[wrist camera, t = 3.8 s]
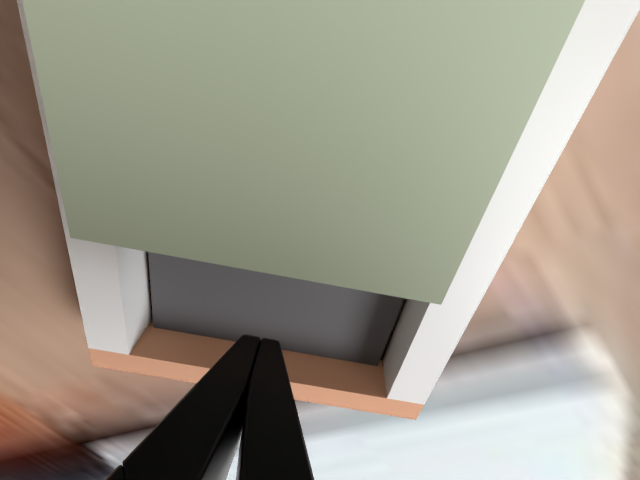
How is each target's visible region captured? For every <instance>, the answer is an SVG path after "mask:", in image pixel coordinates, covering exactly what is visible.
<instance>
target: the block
mask: <svg viewBox="0 0 640 480" xmlns="http://www.w3.org/2000/svg"><path fill="white" fill-rule="evenodd" d="M22 1H23V6H24V11H25V16H26V21H27V26H28V31H29V36H30V41H31V46H32V51H33V56H34V61H35V66H36V70H37V75H38V80H39V85H40V90H41V95H42V100H43V105H44V110H45V115H46V120H47V125H48V130H49V135H50V140H51V145H52V150H53V155H54V160H55V165H56V170H57V175H58V180H59V185H60V190H61V195H62V200H63V205H64V210H65V215H66V219H67V224H68V229H69V234H70V238H74V239H80V240H85V241H91V242H96V243H102V244H108V245H113V246H119V247H124V248H130V249H135V250H141V251H146V252H152V253H157V254H163V255H168V256H174V257H179V258H185V259H190V260H196V261H201V262H207V263H213V264H218V265H224V266H229V267H235V268H240V269H246V270H251V271H257V272H262V273H268V274H273V275H279V276H284V277H290V278H295V279H301V280H307V281H312V282H318V283H323V284H329V285H334V286H340V287H345V288H351V289H356V290H362V291H367V292H373V293H378V294H384V295H389V296H395V297H400V298H406V299H412V300H417V301H423V302H428V303H434V304H439V305H441V304H442V302H443V300H444V298H445V296H446V294H447V291H448V289H449V287H450V285H451V283H452V281H453V279H454V277H455V275H456V272H457V270H458V268H459V266H460V264H461V262H462V260H463V258H464V255H465V253H466V251H467V249H468V247H469V245H470V243H471V241H472V239H473V236H474V234H475V232H476V230H477V228H478V226H479V224H480V222H481V220H482V217H483V215H484V213H485V211H486V209H487V207H488V205H489V203H490V201H491V198H492V196H493V194H494V192H495V190H496V188H497V186H498V184H499V182H500V179H501V177H502V175H503V173H504V171H505V169H506V167H507V165H508V162H509V160H510V158H511V156H512V154H513V152H514V150H515V148H516V146H517V143H518V141H519V139H520V137H521V135H522V133H523V131H524V129H525V127H526V124H527V122H528V120H529V118H530V116H531V114H532V112H533V110H534V108H535V105H536V103H537V101H538V99H539V97H540V95H541V93H542V91H543V89H544V86H545V84H546V82H547V80H548V78H549V76H550V74H551V72H552V69H553V67H554V65H555V63H556V61H557V59H558V57H559V55H560V53H561V50H562V48H563V46H564V44H565V42H566V40H567V38H568V36H569V34H570V31H571V29H572V27H573V25H574V23H575V21H576V19H577V17H578V15H579V12H580V10H581V8H582V6H583V4H584V2H585V0H22Z"/></svg>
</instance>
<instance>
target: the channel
mask: <svg viewBox="0 0 640 480" xmlns="http://www.w3.org/2000/svg"><path fill="white" fill-rule="evenodd" d="M17 4H18V9H19V14H20V19H21V24H22V29H23V34H24V38H25V43H26V48H27V53H28V58H29V63H30V68H31V72H32V77H33V82H34V87H35V92H36V97H37V101H38V106H39V111H40V116H41V121H42V126H43V131H44V135H45V140H46V145H47V150H48V155H49V160H50V165H51V169H52V174H53V179H54V184H55V189H56V194H57V199H58V203H59V208H60V213H61V218H62V223H63V228H64V233H65V237H66V242H67V247H68V252H69V257H70V262H71V266H72V271H73V276H74V281H75V286H76V291H77V296H78V300H79V305H80V310H81V315H82V320H83V325H84V330H85V334H86V339H87V344H88V348H91V349H97V350H103V351H109V352H115V353H121V354H127V355H129V354H130V352H131V351H132V349H133V347H134V346H135V344H136V343H137V341H138V340H139V338H140V337H141V335H142V334H143V332H144V331H145V329H146V328H147V326H148V325H149V323H150V322H151V306H150V292H149V278H148V264H147V252H146V251H141V250H135V249H130V248H124V247H119V246H113V245H108V244H102V243H96V242H91V241H85V240H80V239H74V238H70V234H69V229H68V224H67V219H66V215H65V210H64V205H63V200H62V195H61V190H60V185H59V180H58V175H57V170H56V165H55V160H54V155H53V150H52V145H51V140H50V135H49V130H48V125H47V120H46V115H45V110H44V105H43V100H42V95H41V90H40V85H39V80H38V75H37V70H36V66H35V61H34V56H33V51H32V46H31V41H30V36H29V31H28V26H27V21H26V16H25V11H24V6H23V1H22V0H17ZM639 9H640V0H585V2H584V4H583V6H582V8H581V10H580V12H579V15H578V17H577V19H576V21H575V23H574V25H573V27H572V29H571V31H570V34H569V36H568V38H567V40H566V42H565V44H564V46H563V48H562V50H561V53H560V55H559V57H558V59H557V61H556V63H555V65H554V67H553V69H552V72H551V74H550V76H549V78H548V80H547V82H546V84H545V86H544V89H543V91H542V93H541V95H540V97H539V99H538V101H537V103H536V105H535V108H534V110H533V112H532V114H531V116H530V118H529V120H528V122H527V124H526V127H525V129H524V131H523V133H522V135H521V137H520V139H519V141H518V143H517V146H516V148H515V150H514V152H513V154H512V156H511V158H510V160H509V162H508V165H507V167H506V169H505V171H504V173H503V175H502V177H501V179H500V182H499V184H498V186H497V188H496V190H495V192H494V194H493V196H492V198H491V201H490V203H489V205H488V207H487V209H486V211H485V213H484V215H483V217H482V220H481V222H480V224H479V226H478V228H477V230H476V232H475V234H474V236H473V239H472V241H471V243H470V245H469V247H468V249H467V251H466V253H465V255H464V258H463V260H462V262H461V264H460V266H459V268H458V270H457V272H456V275H455V277H454V279H453V281H452V283H451V285H450V287H449V289H448V291H447V294H446V296H445V298H444V300H443V302H442V304H441V305H439V304H434V303H428V302H423V301H417V300H412V299H407V300H406V303H405V305H404V308H403V310H402V313H401V315H400V318H399V320H398V323H397V325H396V328H395V330H394V332H393V335H392V337H391V340H390V342H389V345H388V347H387V350H386V352H385V355H384V357H383V360H382V363H383V371H384V379H385V387H386V395H387V399H393V400H399V401H405V402H411V403H417V404H423V405H424V404H425V402H426V400H427V398H428V397H429V395H430V393H431V391H432V389H433V387H434V386H435V384H436V382H437V380H438V378H439V376H440V375H441V373H442V371H443V369H444V367H445V365H446V364H447V362H448V360H449V358H450V356H451V354H452V353H453V351H454V349H455V347H456V345H457V343H458V342H459V340H460V338H461V336H462V334H463V332H464V331H465V329H466V327H467V325H468V323H469V321H470V320H471V318H472V316H473V314H474V312H475V310H476V309H477V307H478V305H479V303H480V301H481V299H482V297H483V296H484V294H485V292H486V290H487V288H488V286H489V285H490V283H491V281H492V279H493V277H494V275H495V274H496V272H497V270H498V268H499V266H500V264H501V263H502V261H503V259H504V257H505V255H506V253H507V252H508V250H509V248H510V246H511V244H512V242H513V241H514V239H515V237H516V235H517V233H518V231H519V230H520V228H521V226H522V224H523V222H524V220H525V219H526V217H527V215H528V213H529V211H530V209H531V208H532V206H533V204H534V202H535V200H536V198H537V197H538V195H539V193H540V191H541V189H542V187H543V186H544V184H545V182H546V180H547V178H548V176H549V175H550V173H551V171H552V169H553V167H554V165H555V164H556V162H557V160H558V158H559V156H560V154H561V153H562V151H563V149H564V147H565V145H566V143H567V142H568V140H569V138H570V136H571V134H572V132H573V131H574V129H575V127H576V125H577V123H578V121H579V120H580V118H581V116H582V114H583V112H584V110H585V109H586V107H587V105H588V103H589V101H590V99H591V98H592V96H593V94H594V92H595V90H596V88H597V87H598V85H599V83H600V81H601V79H602V77H603V76H604V74H605V72H606V70H607V68H608V66H609V64H610V63H611V61H612V59H613V57H614V55H615V53H616V52H617V50H618V48H619V46H620V44H621V42H622V41H623V39H624V37H625V35H626V33H627V31H628V30H629V28H630V26H631V24H632V22H633V20H634V19H635V17H636V15H637V13H638V11H639Z"/></svg>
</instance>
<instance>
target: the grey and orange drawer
mask: <svg viewBox="0 0 640 480" xmlns="http://www.w3.org/2000/svg"><path fill="white" fill-rule="evenodd" d="M148 256H149V271H150V285H151V299H152V314H153V320H151V322H150V323H149V325H148V326H147V328H146V329H145V331H144V332H143V334H142V335H141V337H140V338H139V340H138V341H137V343H136V344H135V346H134V347H133V349H132V351H131V352H130V354H129V355H127V354H121V353H115V352H109V351H103V350H97V349H91V348H88V349H89V354H90V359H91V364H92V366H96V367H102V368H108V369H114V370H120V371H126V372H132V373H138V374H144V375H150V376H156V377H162V378H168V379H174V380H180V381H186V382H192V383H197V382H198V381H199V380H200V379H201V378H202V377H203V376H204V375H205V374H206V373H207V372H208V371H209V370H210V369H211V368H212V366H213V365H214V364H215V363H216V362H217V361H218V360H219V359H220V358H221V357H222V356H223V355H224V354H225V353H226V352H227V351H228V349H229V348H230V347H231V346H232V345H233V344H234V343H235V342H236V341H237V340H238V339H239V338H240V337H241V336H242V335H244V334H247V335H253V336H258V337H260V339H262V338H270V339H275V340H278V341H279V342H280V345H281V349H282V353H283V357H284V361H285V365H286V369H287V373H288V377H289V381H290V385H291V389H292V393H293V397H294V399H295V400H301V401H307V402H313V403H319V404H325V405H331V406H337V407H343V408H349V409H355V410H361V411H367V412H373V413H379V414H385V415H391V416H397V417H403V418H409V419H415V420H416V419H417V417H418V415H419V413H420V411H421V409H422V408H423V406H424V405H423V404H417V403H411V402H405V401H399V400H393V399H387V395H386V387H385V379H384V371H383V363H382V360H380V358H381V356H382V353H383V351H384V348H385V346H386V343H387V341H388V338H389V336H390V333H391V331H392V328H393V326H394V324H395V321H396V319H397V316H398V314H399V311H400V309H401V306H402V304H403V301H404V299H405V298H400V297H395V296H389V295H384V294H378V293H373V292H367V291H362V290H356V289H351V288H345V287H340V286H334V285H329V284H323V283H318V282H312V281H307V280H301V279H295V278H290V277H284V276H279V275H273V274H268V273H262V272H257V271H251V270H246V269H240V268H235V267H229V266H224V265H218V264H213V263H207V262H201V261H196V260H190V259H185V258H179V257H174V256H168V255H163V254H157V253H152V252H148Z"/></svg>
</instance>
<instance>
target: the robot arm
mask: <svg viewBox="0 0 640 480" xmlns="http://www.w3.org/2000/svg"><path fill="white" fill-rule="evenodd" d="M241 432H242V434H241ZM240 436H241V442H240V449H239V458H238V466H237V475H236V480H314V477H313V473H312V469H311V465H310V461H309V457H308V453H307V449H306V445H305V441H304V437H303V433H302V429H301V425H300V421H299V417H298V413H297V409H296V405H295V401H294V397H293V393H292V389H291V385H290V381H289V377H288V373H287V369H286V365H285V361H284V357H283V353H282V349H281V345H280V342H279V341H278V340H275V339H270V338H262V339H260V337H258V336H253V335H247V334H244V335H242V336H241V337H240V338H239V339H238V340H237V341H236V342H235V343H234V344H233V345H232V346H231V347H230V348H229V349H228V351H227V352H226V353H225V354H224V355H223V356H222V357H221V358H220V359H219V360H218V361H217V362H216V363H215V364H214V365H213V366H212V368H211V369H210V370H209V371H208V372H207V373H206V374H205V375H204V376H203V377H202V378H201V379H200V380H199V381H198V382H197V383H196V384H195V386H194V387H193V388H192V389H191V390H190V391H189V392H188V393H187V394H186V395H185V396H184V397H183V398H182V399H181V400H180V401H179V403H178V404H177V405H176V406H175V407H174V408H173V409H172V410H171V411H170V412H169V413H168V414H167V415H166V416H165V417H164V418H163V419H162V421H161V422H160V423H159V424H158V425H157V426H156V427H155V428H154V429H153V430H152V431H151V432H150V433H149V434H148V435H147V436H146V438H145V439H144V440H143V441H142V442H141V443H140V444H139V445H138V446H137V447H136V448H135V449H134V450H133V451H132V452H131V453H130V455H129V456H128V457H127V458H126V459H125V460H124V461H123V466H122V465H120V466H118V467H117V468H116V469H115V470H114V471H113V472H112V473H111V474H110V475H109V477H108V478H107V479H106V480H226V478H227V475H228V472H229V469H230V466H231V463H232V460H233V458H234V455H235V452H236V449H237V446H238V443H239V440H240Z"/></svg>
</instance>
